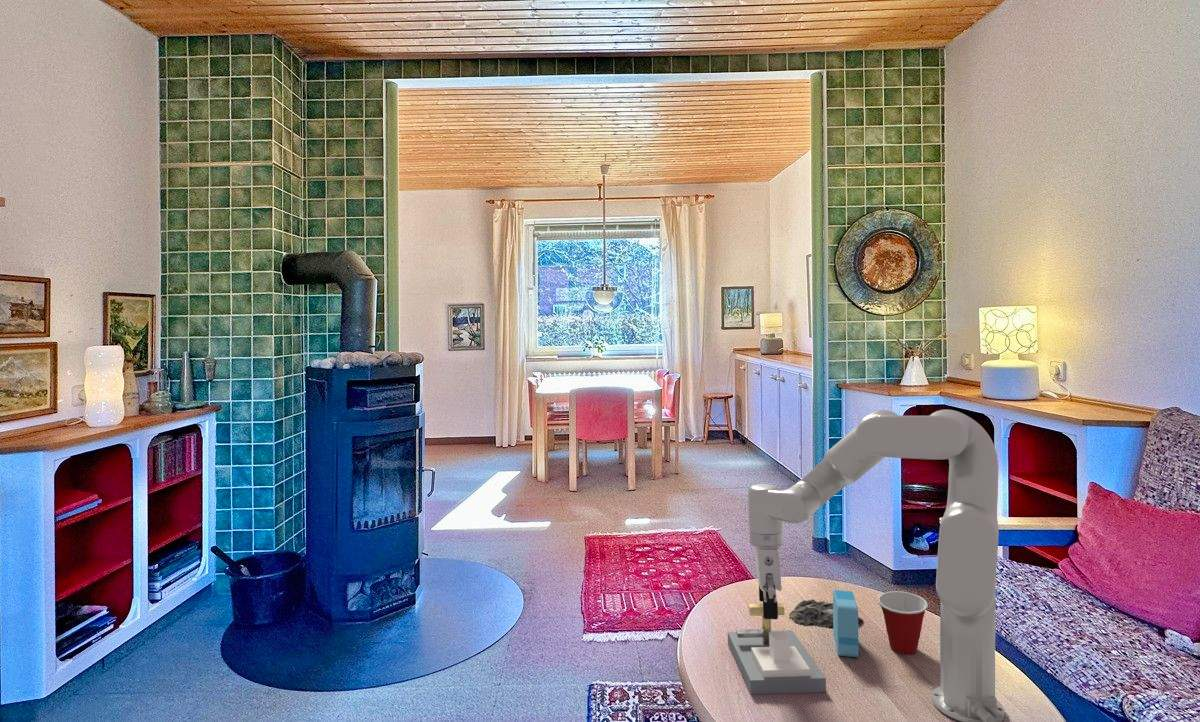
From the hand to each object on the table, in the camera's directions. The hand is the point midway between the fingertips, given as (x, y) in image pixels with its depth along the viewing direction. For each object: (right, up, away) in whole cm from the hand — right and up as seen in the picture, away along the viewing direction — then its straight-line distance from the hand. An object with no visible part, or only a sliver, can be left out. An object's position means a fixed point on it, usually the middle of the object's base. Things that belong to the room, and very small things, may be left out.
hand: (768, 609), depth 147 cm
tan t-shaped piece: (-2, -8, 0) cm, 8 cm away
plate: (0, -11, -4) cm, 12 cm away
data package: (+20, -11, +4) cm, 23 cm away
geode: (+21, -11, +21) cm, 32 cm away
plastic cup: (+33, -11, +2) cm, 35 cm away
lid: (0, -8, -9) cm, 13 cm away
